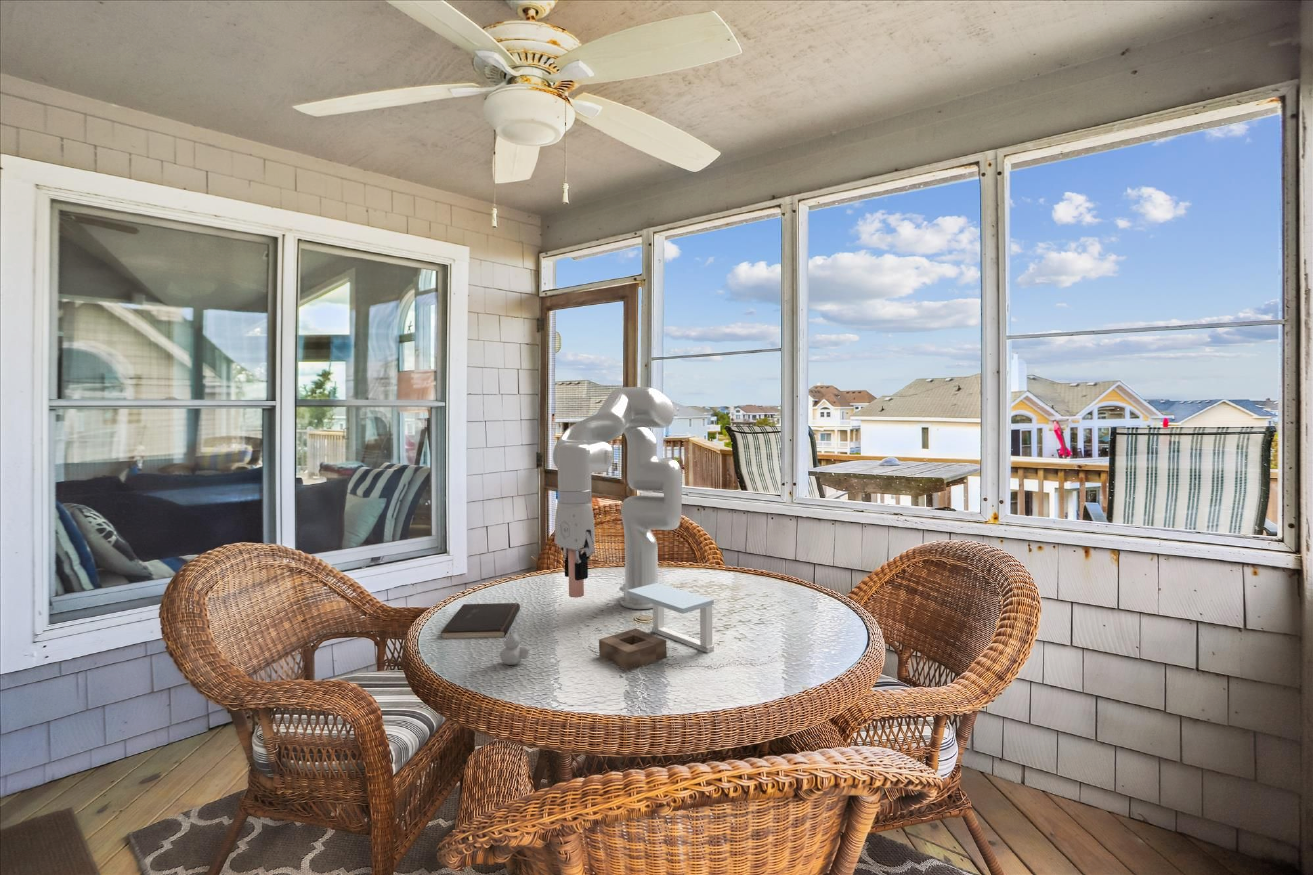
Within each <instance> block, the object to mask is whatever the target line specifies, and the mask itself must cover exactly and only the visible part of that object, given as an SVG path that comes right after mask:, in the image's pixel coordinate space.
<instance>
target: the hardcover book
mask: <svg viewBox="0 0 1313 875" xmlns="http://www.w3.org/2000/svg"><path fill="white" fill-rule="evenodd" d="M520 610H521V605H520V603H519V602H507V603H506V602H503V603H499V602H498V603H497V602H496V603H493V602H492V603H463V604H462V605H461V607H460V608H459V609H458V610H457V611H456V613H455V614H454V615H452V616H453V617H452V618H450V620H449V621H448V623H446V624H445V626H444V628H442V630H441V631H440V634H442V635H441V636H442V639H459V638H461V639H462V638H464V639H465V638H466V639H467V638H469V639H470V638H474V639H475V638H506V637H507V635H508V633H509V631H510V629H511V626H512V625H513V622H514V620H515V619H516V618H517V615H518V613H519V611H520Z"/></svg>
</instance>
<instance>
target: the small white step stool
mask: <svg viewBox="0 0 1313 875" xmlns="http://www.w3.org/2000/svg"><path fill="white" fill-rule="evenodd" d="M627 595H628V596H631V597H634V598H637V599H640V600H643V601H646V602H649V603H652V604H653V608H652V626H651V632H652V631H653V633H655V634H658V635H661V636H664V637H666V638H668V639H671V640H673V641H676V642H679V643H682V644H684V645H686V646H689V647H691V646H692V648H695V649H696V648H697V649H696V650H699V651H703V652H705V653H707V652H708V653H707V654H709V653H712V652H714V651H715V646H714V645H713V606H714V602H715V601H714V599H712V598H710V597H705V596H702V595H700V594H696V593H693V592H688V591H686V590H682V589H678V588H676V587H672V586H670V585H666V584H662V583H659V582H658V583H655V584H651V585H647V586H642V587H638V588H634V589H630V590H627ZM665 609H667V610H670V611H672V612H673V611H674V612H677V613H679V614H682V615H683V614H687V613H691V612H693V611H697V610H698V611H699V614H700V615H699V618H700V619H699V620H700V621H699V622H700V623H699V629H700V630H699V634H700V635H699V636H700V637H699V639H700V640H699V639H697V638H694V637H691V636H689V635H686V634H683V633H680V632H678V631H675V630H672V629H669V628H667V627H665Z"/></svg>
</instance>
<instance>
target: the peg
mask: <svg viewBox="0 0 1313 875" xmlns="http://www.w3.org/2000/svg"><path fill="white" fill-rule="evenodd" d="M580 552H581V554H582V553H583V552H584V551H580ZM575 563H577V562H576V551H575V550H571V549H568V567H569V577H568V596H569V597H570V598H582V597H584V595H585V584H584V582H585V581H584V580H585V579H583V580H578V581H577V580H575Z"/></svg>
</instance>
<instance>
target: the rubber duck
mask: <svg viewBox="0 0 1313 875" xmlns="http://www.w3.org/2000/svg"><path fill="white" fill-rule="evenodd" d="M505 638H506V639H505V640H504V641H503V644H504V648H503V649H501V651H500V653H499V657H500V660H501V661H502V663H503V664H505V665H509V666H513V665H514V666H515V665H517V664H519V663H520V662H521V661H522V660H527V659H528V658H530V657H529V652H530V647H529V646H526V645H524V646H521V645H520V644H521V639H520V638H519V635H517V633H516V632H515V631H512V629H511V628H510V629H509V634H507V635H506V637H505Z"/></svg>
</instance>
